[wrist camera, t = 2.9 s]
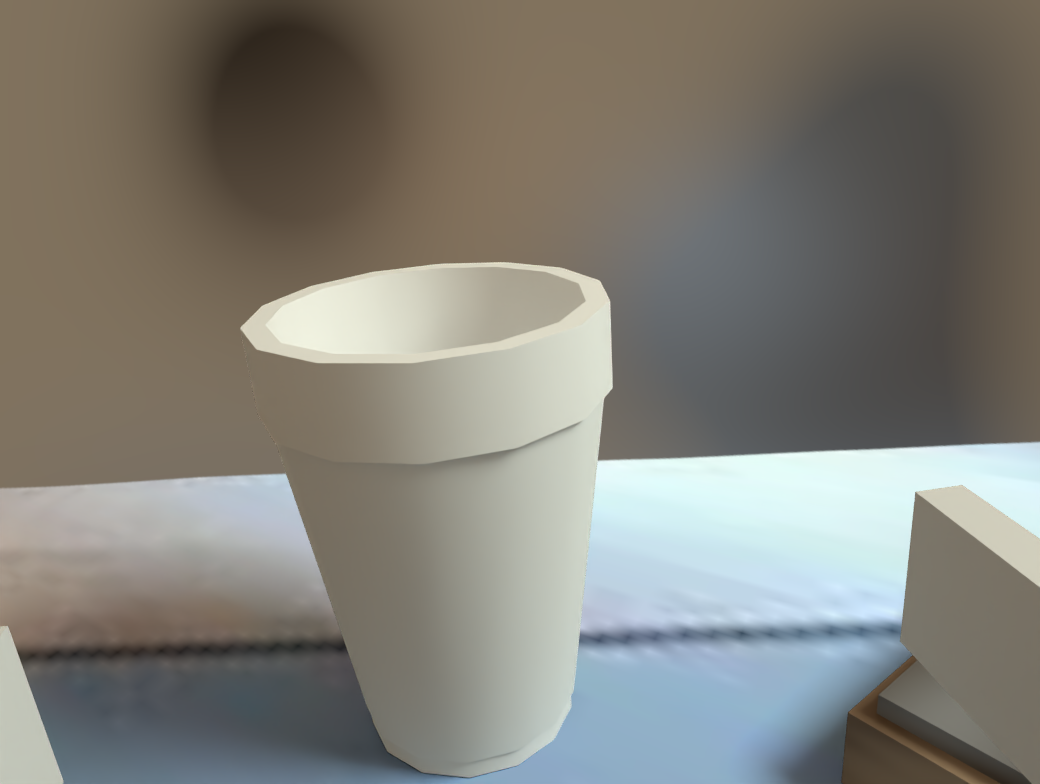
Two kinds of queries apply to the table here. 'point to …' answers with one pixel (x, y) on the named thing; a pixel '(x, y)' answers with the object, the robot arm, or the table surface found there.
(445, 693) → the foam cup
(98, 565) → the table surface
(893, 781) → the stand
